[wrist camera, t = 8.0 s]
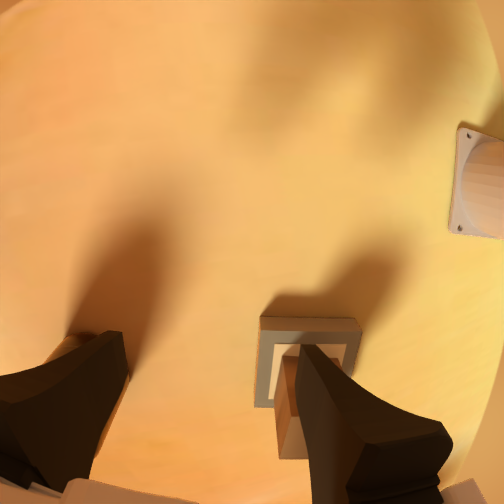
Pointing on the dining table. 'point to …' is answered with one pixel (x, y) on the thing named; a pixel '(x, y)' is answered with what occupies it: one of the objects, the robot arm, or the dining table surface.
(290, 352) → the base tile
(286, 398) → the walnut block
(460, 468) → the dining table surface
